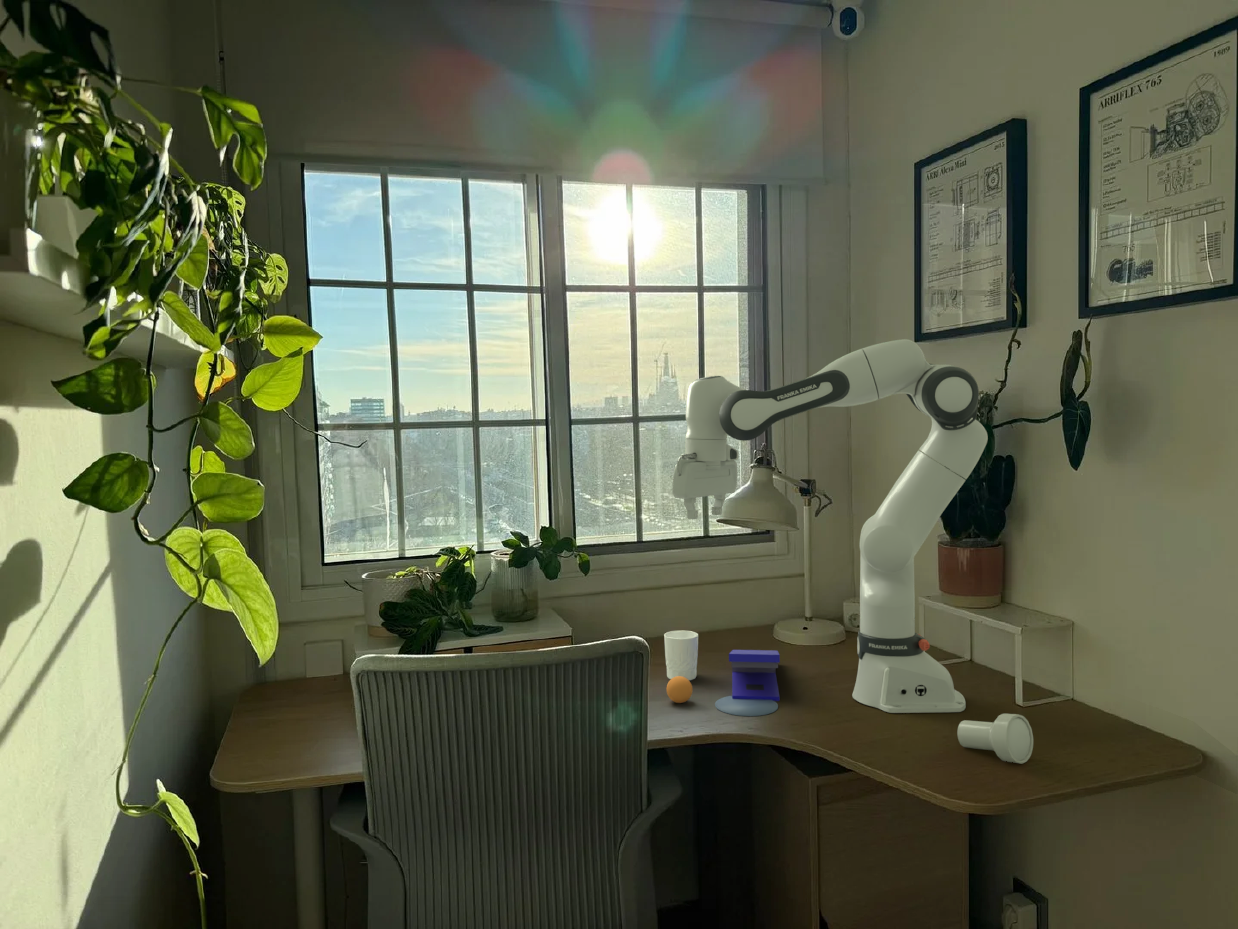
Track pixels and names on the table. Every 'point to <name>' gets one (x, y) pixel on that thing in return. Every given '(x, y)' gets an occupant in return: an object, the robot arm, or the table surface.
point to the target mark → (746, 706)
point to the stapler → (754, 674)
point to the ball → (679, 689)
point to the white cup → (681, 654)
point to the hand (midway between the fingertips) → (704, 516)
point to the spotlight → (999, 737)
